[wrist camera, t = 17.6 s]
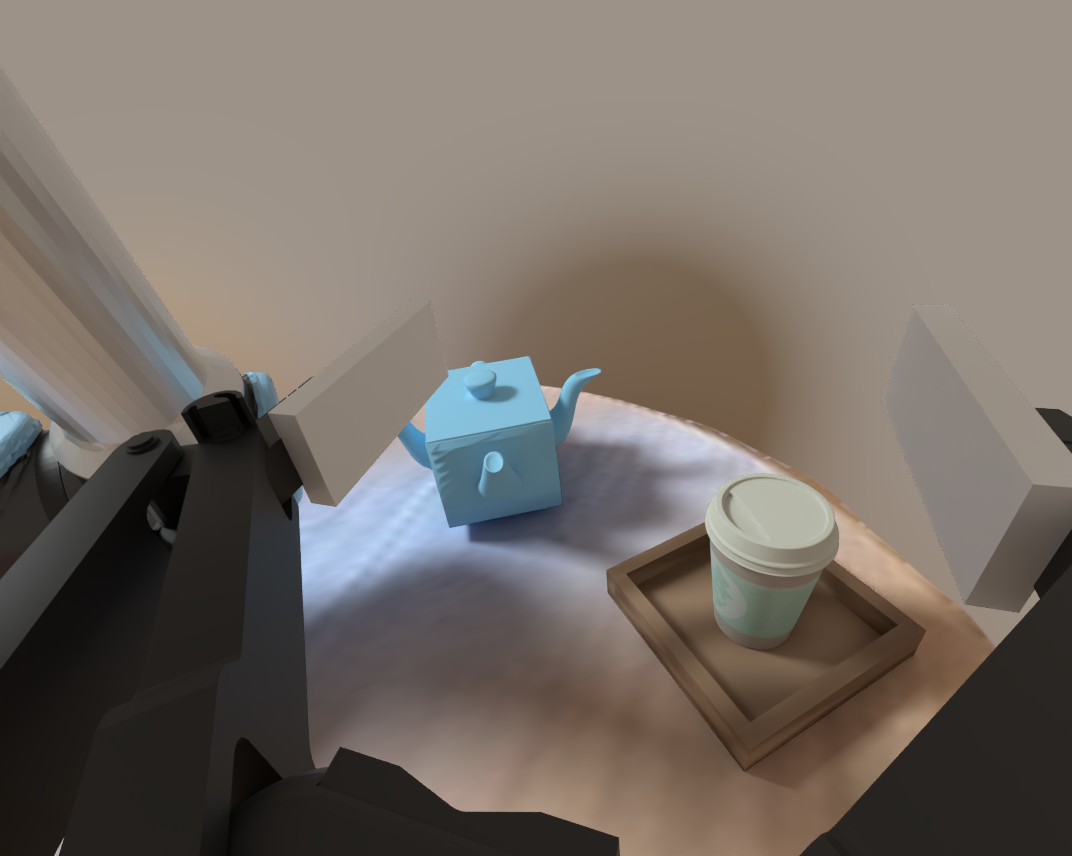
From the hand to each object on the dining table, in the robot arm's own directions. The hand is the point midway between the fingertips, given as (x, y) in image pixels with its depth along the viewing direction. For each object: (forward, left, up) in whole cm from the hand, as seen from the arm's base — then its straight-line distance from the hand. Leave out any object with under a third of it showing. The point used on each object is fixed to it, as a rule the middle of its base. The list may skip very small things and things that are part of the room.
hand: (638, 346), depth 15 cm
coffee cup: (-6, +15, -31) cm, 35 cm away
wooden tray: (-6, +15, -32) cm, 36 cm away
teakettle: (-32, +4, -32) cm, 46 cm away
